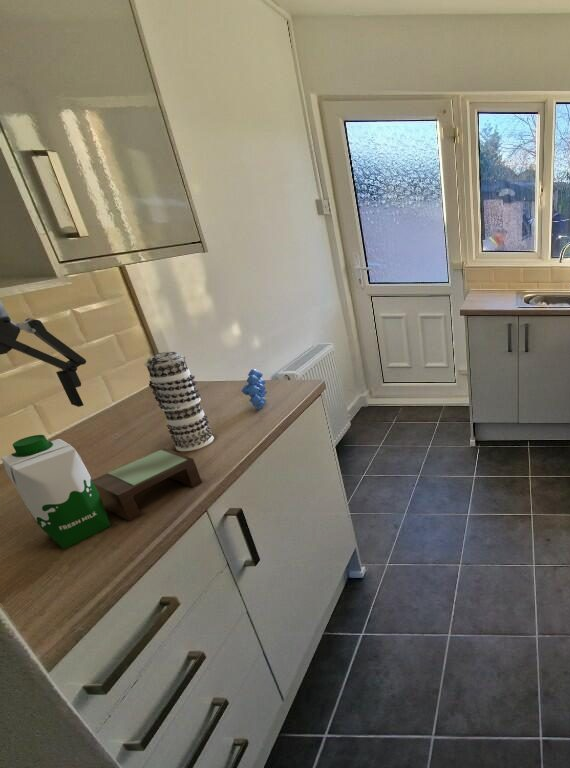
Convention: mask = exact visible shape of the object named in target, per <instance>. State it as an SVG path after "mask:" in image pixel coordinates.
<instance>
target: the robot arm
mask: <svg viewBox="0 0 570 768" xmlns="http://www.w3.org/2000/svg"><path fill="white" fill-rule="evenodd" d="M21 331H24V332H26V333H28V334H32V335H34V336H35V337H37V339H39V340H40V341H42V342H44V343H45V344H46V345H48V346H49V347H51V348H52V349H53V350H54V351H56V352H57V353H58V354H60V355H62V356H63V357H64V358H65V359H67V361H64V360H62V359H59V358H57V357H56V356H53V355H51V354H48V353H46V352H44V351H42V350H39V349H37V348H34V347H32V346H30V345H28V344H25V343H23V342H21V341H18V340H17V339H18V337H19V335H20V333H21ZM12 350H15V351H16V352H19V353H22V354H23V355H24V354H25V355H27V356H29V357H32V358H34V359H36V360H38V361H41V362H44V363H46V364H48V365H51V366H54V367H56V368H58V369H61V370H58V371H55V373H56V375H57V377H58V380H59V381H60V383H61V386H62V388H63V390H64V392H65V393H66V397H67V398H68V400H69V402H70V405H71V406H74V407H78V408H81V407H84V406H85V405H84V403H83V401H82V398H81V396H80V393H79V391H78V390H77V388H80V387H82V381H81V379H80V378H79V375H78V373H77V371H78V368H79V367H80V366H83V365H86V364H87V359H86V358H84V357H83V356H81V354H79V353H78V352H76V351H75V350H74V349H72V348H71V347H70V346H68V345H67V344H66V343H64V342H63V341H62V340H60V339H59V338H57V337H56V336H55V335H54V334H52V333H50V332H49V331H48V329H47V328H46V327H45V325H44V323H43V322H42V321H41V320H39V319H35V318H26V319H25V320H24V321H20V322H16V323H15V322H13V321H12V319H11V317H10V316H9V313H8V311H7V309H6V308H5V305H4V303H3V302H2V299H1V298H0V355H5V354H8V353H9V352H11V351H12Z"/></svg>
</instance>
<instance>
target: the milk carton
mask: <svg viewBox="0 0 570 768" xmlns="http://www.w3.org/2000/svg"><path fill="white" fill-rule="evenodd" d="M12 447H13V449H14V450H15V452H12V453H10V454H8V455H5V456H2V457H0V459H1V462H2V463H3V467H4V469H5V471H6V473H7V475H8V477H9V480H10V481H11V483H12V484H13V486H14V488H15V490H16V492H17V493H18V494H19V496H20V498H21V500H22V501H23V503H24V506H25V507H26V508H27V510H28V511H29V514H30V515H31V517H32V518H33V520H34V521H35V523H36V524H37V525H38V526H39V528H40V529H41V530H43V531H44V532H45V533H46V535H48V536H49V537H50V538H51V539H52V540H53V541H54V542H55V543H56V544H58V545H59V546H60V547H61V548H62V549H63V550H65V549H67V548H70V547H71V546H73V545H76V544H77V543H79V542H81V541H84V540H86V539H87V538H90V537H92V536H93V535H96V534H98V533H100V532H102V531H103V530H106V529H108V528H110V527H111V526H112V524H111V523H110V519H109V516H108V513H107V510H106V509H105V508H104V505H103V502H102V500H101V497H100V495H99V493H98V491H97V489H96V487H95V485H94V483H93V481H92V480H93V479H92V477H91V475H90V473H89V470H88V469H87V467H86V465H85V463H84V462H83V458H82V457H81V455H80V454H79V453H78V452H77V450H76V448H74V447H73V446H72V445H71V444H70V443H67V442H66V441H64V440H63V439H61V438H57V439H53V440H47V437H46V435H44V434H34V435H30V436H27V437H23V438H21V439H18V440H16V441H14V442H13V443H12Z"/></svg>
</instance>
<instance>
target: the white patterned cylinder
mask: <svg viewBox="0 0 570 768" xmlns="http://www.w3.org/2000/svg"><path fill="white" fill-rule="evenodd" d="M186 358H187V357H186V356H185V355H181V354H180V353H179V352H176V351H164V352H159V353H155V354H153V355H150V356H149V357H148V359H147V361H146V362H144V364H143V365H144V367H146V368H147V371H148V373H149V375H148V376H149V379H150V380H149V383H148V386H149V388H150V389H152V394H153V395H154V400H155V401H156V402H157V403H158V407H159V409H160V410H161V411H163V412H164V415H165V421H166V422H167V424H166V427H167V429H168V433H169V434H170V438H171V440H172V441H173V442H172V443H173V445H174V446H175V450H176V451H178V452H191V451H195V450H196V451H197V450H199V449H202V448H205V447H206V446H209V445H210V444H212V442H214V439H215V437H214V435H213V432H212V430H211V429H212V427H211V426H210V424H209V423H210V422H209V420H208V419H207V418H208V416H207V414H206V413H205V411H204V409H203V408H202V406H201V403H200V402H201V394H200V393H198V392H199V388H198V387H195V386H196V385H197V381H196V380H195V378H196V376H195V375H192V374H191V371H190V368H189V367H188V365H187V361H186Z"/></svg>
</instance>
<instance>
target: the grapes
mask: <svg viewBox="0 0 570 768" xmlns="http://www.w3.org/2000/svg"><path fill="white" fill-rule="evenodd" d="M247 376H248V377H247V379H246V383H247V384H245V385H244V386H243V387H242V389H241V392H242V393H243V394H244V395H245V396H249V397H250V399H249V402H250V403H251V404H252V406H253V407H254V408H255V409H256V410H262V409H263V407H264V406H265V404H266V403H267V402H268V401H267V400H268V399H266V398H265V396H266V394H267V393H268V390H266V388H267V387H266V386H264V385H265V384H266V381H265V380H264V379H263V378H262V377H263V373H262V372H261V371H260V370H257V369H255V368H252V369H250V371H249V372H248V373H247Z"/></svg>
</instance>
